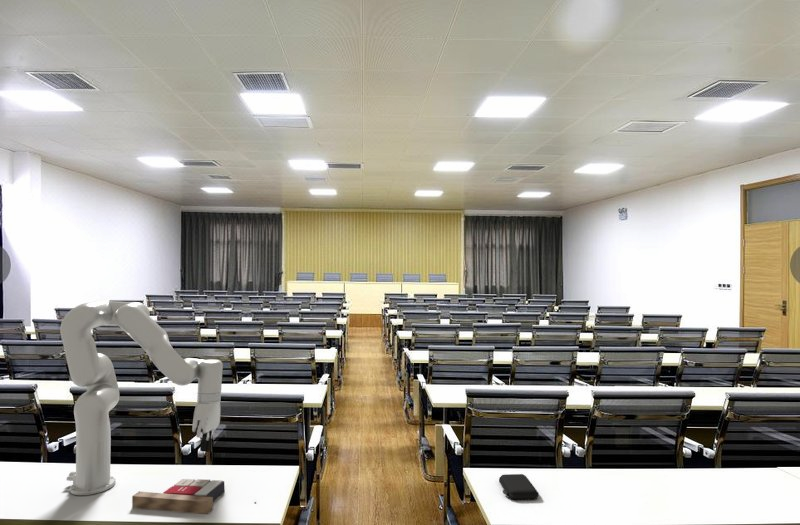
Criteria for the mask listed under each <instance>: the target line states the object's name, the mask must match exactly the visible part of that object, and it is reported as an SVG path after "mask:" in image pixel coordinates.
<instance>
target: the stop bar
mask: <svg viewBox="0 0 800 525" xmlns="http://www.w3.org/2000/svg"><path fill="white" fill-rule="evenodd" d="M131 497H132V499H131V500H132V502H131V503H132V507H131V508H133V509H142V510H153V511H165V512H180V513H189V514H191V513H192V514H202V515H208V514H209V513H210V512H211V511H212V510H214V508H213V503H214V502H213V497H204V496H191V495H178V494H165V493H163V492H149V491H137V492H135V494H133V495H132V496H131Z"/></svg>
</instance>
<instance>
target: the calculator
mask: <svg viewBox="0 0 800 525" xmlns="http://www.w3.org/2000/svg"><path fill="white" fill-rule="evenodd" d="M225 488H226V486H225V481H224V480H221V479H220V480H215V479H212V480H211V479H195V478H194V479H193V478H192V479H191V478H183V479H180V480H179V481H177V482H176V483H175V484H174V485H172V486H170V487H169V488H168V489H166V490H165V491H163V492H162V493H165V494H178V495H191V496H204V497H213V503H214V502H215V501H216V500H217V499H218V498H219V497H221V496H222V495H223V494H224V493H225Z"/></svg>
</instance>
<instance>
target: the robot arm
mask: <svg viewBox="0 0 800 525" xmlns="http://www.w3.org/2000/svg"><path fill="white" fill-rule="evenodd" d="M149 309H150V308H148V307H147V305H146V304H144V303H142V302H137V301H114V300H113V301H111V300H95V301H89V302H84V303H81V304H79V305H76V306H75V307H73V308H72V309H71V310H69V311H68V313H66V314H65V316H64V317H63V318H62V320H61V324H60V329H59V330H60V331H59V332H60V337H61V341H62V345H63V349H64V353H65V359H66V362H67V367H68V372H69V375H70V376H69V377H70V378H71V382H73V384H74V385H75V386H77V387H78V388H79V387H80V388H86V391H85V392H84V393H82V394H81V395H80V396H78V398H77V399H76V401H75V403H74V407H73V415H74V417H73V418H74V420H75V421H74V422H75V445H76V446H75V447H76V448H75V449H76V450H75V471H70V472H69V474H68V475H67V477H66V481H70V482H71V481H72V485H71V486H70V487H69V493H70V494H71V495H74V496H89V495H95V494H99V493H102V492H105V491H107V490H109V489H111V488H113V487H114V486H115V484H116V477H114V476H111V445H112V444H111V442H112V441H111V440H112V438H111V436H112V435H111V420H110V417H109V412H110V411H111V410H113V408H115V406H117V405H118V403H119V400H120V387H119V384H118V380H117V376H116V372H115V368H114V365H113V362H112V360H111V359H110V358H109V357H108V356H107V354H104V353H101V352H98V350H97V345H96V342H95V339H94V337H93V335H92V329H95V328H99V327H102V326H107V327H109V326H113V327H120V329H121V330H122V331H123V332H125V333H126V334H127V335H128V336H129V337H130V338H131V339H132V340H133V341H134V342H136V344H137V345H138V346H140V347H141V348H142V349H143V350H144V352H146V354H147V356H148V357H149V359H150V360H151V362H152V363H153V365H154V366H155V367H156V368H157V369H158V371H160V372H161V373H162V374H163V375H164V376H165V377H166V378H167V379H168V380H169V381H170V382H172V383H173V384H175V385H177V386H180V387H181V386H187V385H190V384H191V383H192V382H193V381H195V380H198V381H197V397H196V399H197V400H196V404H195V408H194V412H193V419H192V429H191V430H192V432H193V433H196V435H195V436H196V438H199V441H200V444H199V445H200V446H199V451H200V452H204V453H206V452H207V453H209V452H211V451H212V447H213V446H212V445H213V442H212V441H213V437H214V432H215V430H217V428H218V427H219V425H220V422H221V397H222V381H223V365H224V364H223V362H222V361H221V360H220V359H199V358H194V357H187V358H183V357H182V356H180V355H179V353H177V351H176V350H175V348H173V346H172V345H171V342H170V340H169V335H168V333H167V331H166V330H164V329H163V327H161V326H160V325H159V324H158V322H156V321H155V320H154V319H153V318H152V317H151V314H150V313H151V312H150V310H149Z"/></svg>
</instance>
